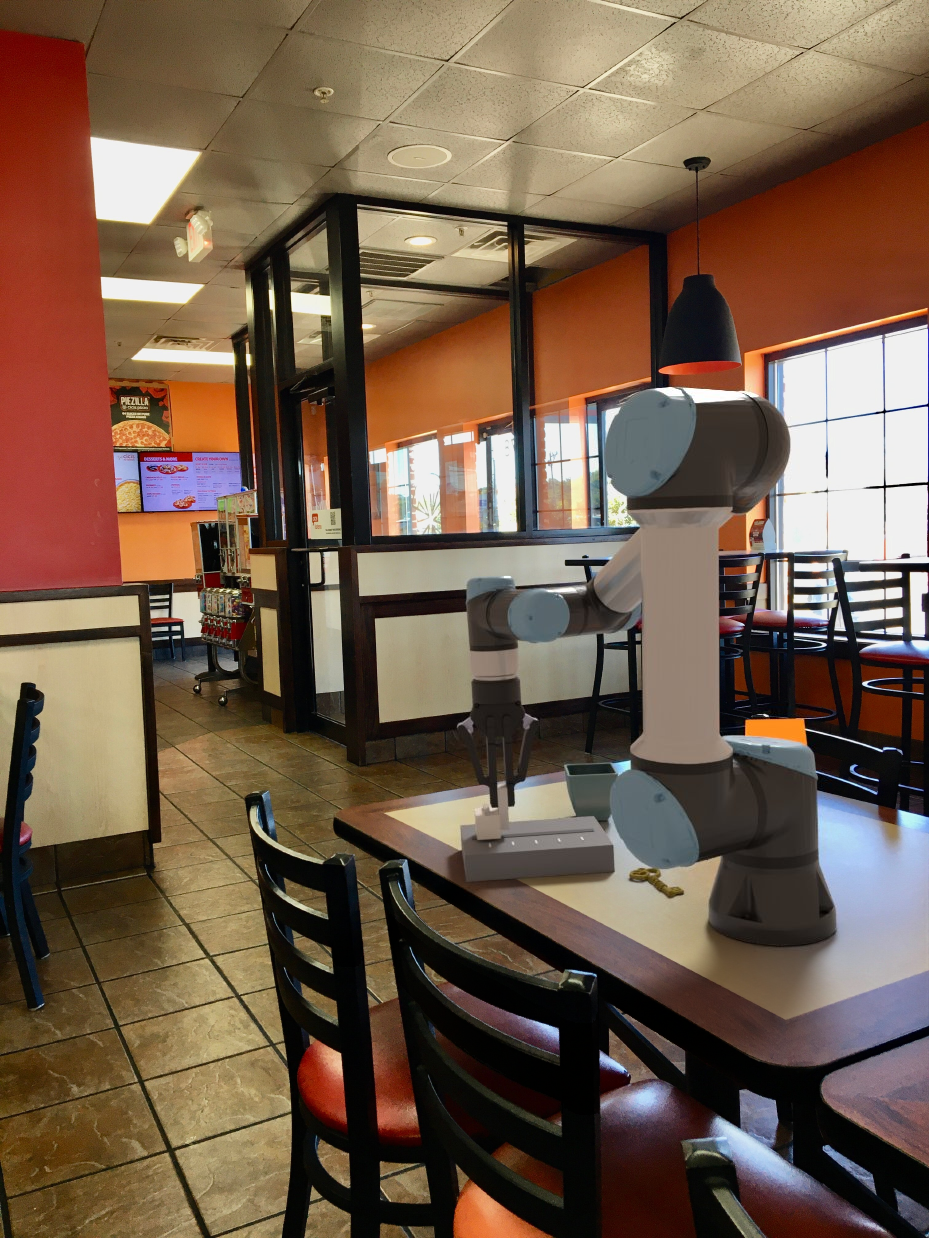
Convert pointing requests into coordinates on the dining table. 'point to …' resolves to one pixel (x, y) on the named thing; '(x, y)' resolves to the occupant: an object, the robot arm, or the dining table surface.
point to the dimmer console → (538, 850)
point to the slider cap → (487, 823)
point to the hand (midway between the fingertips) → (503, 827)
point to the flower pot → (590, 788)
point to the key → (655, 880)
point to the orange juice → (777, 729)
